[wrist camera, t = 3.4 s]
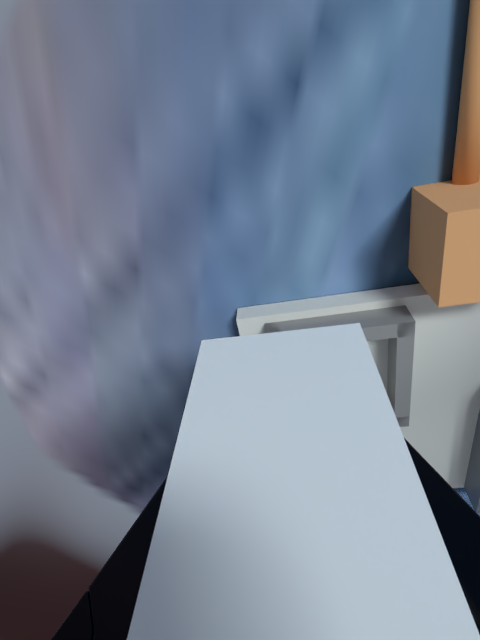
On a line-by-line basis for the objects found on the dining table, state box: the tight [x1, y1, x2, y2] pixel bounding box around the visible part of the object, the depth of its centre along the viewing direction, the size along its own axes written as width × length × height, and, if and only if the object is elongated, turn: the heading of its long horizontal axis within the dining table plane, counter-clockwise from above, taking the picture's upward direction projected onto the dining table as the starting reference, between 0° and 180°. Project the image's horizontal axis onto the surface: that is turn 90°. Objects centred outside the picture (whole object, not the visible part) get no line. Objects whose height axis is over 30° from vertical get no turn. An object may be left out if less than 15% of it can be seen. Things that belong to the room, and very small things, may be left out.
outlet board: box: [236, 283, 480, 488], centre depth 22 cm, size 20×16×3 cm
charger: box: [127, 323, 480, 640], centre depth 8 cm, size 4×4×7 cm
